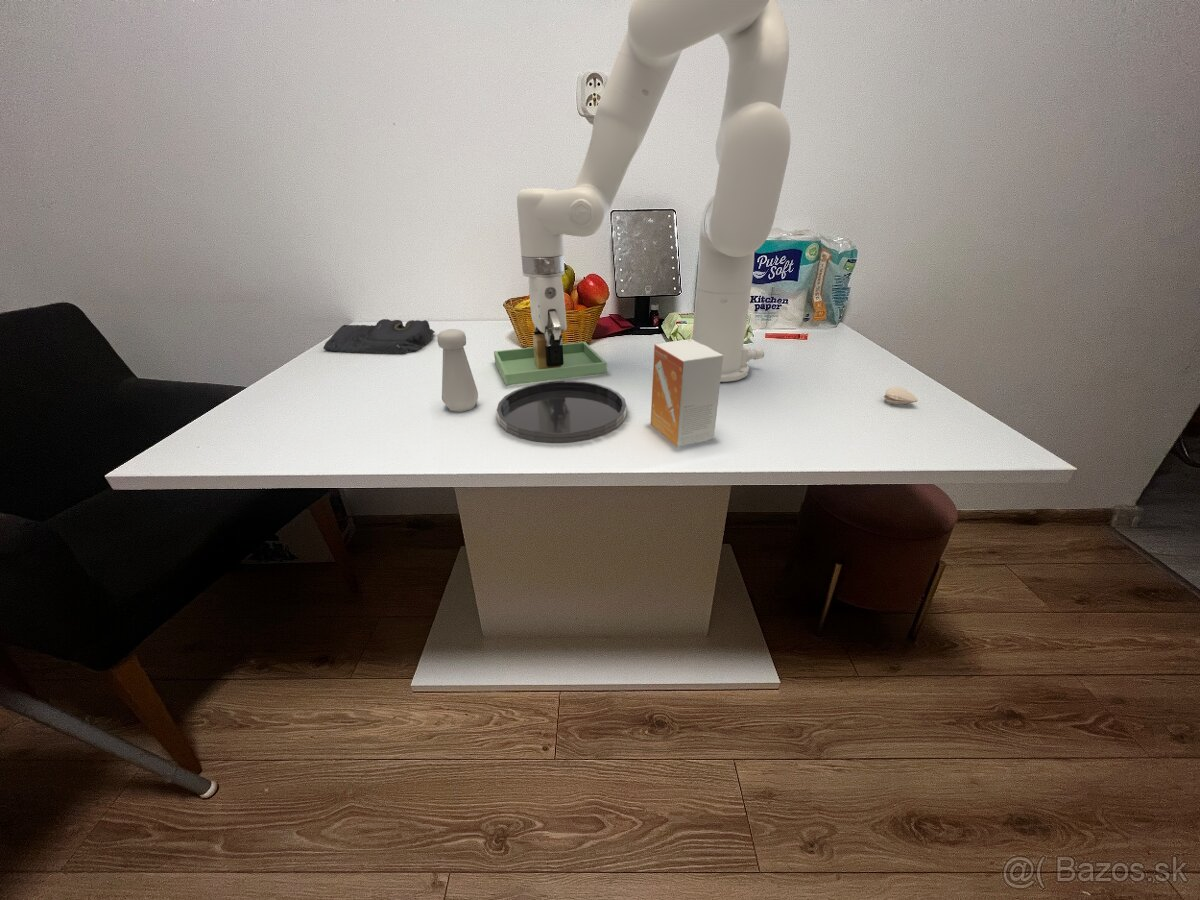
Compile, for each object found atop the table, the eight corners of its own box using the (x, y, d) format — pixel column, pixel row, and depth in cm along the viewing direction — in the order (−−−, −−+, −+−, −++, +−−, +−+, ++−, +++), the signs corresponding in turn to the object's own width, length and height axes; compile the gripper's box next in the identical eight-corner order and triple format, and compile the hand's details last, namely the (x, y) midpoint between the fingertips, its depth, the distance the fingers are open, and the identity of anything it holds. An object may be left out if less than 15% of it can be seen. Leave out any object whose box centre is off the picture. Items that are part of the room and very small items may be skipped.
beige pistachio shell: (888, 396, 87) (892, 382, 86) (920, 404, 84) (924, 390, 83) (878, 403, 85) (882, 389, 83) (911, 412, 82) (915, 397, 80)
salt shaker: (470, 417, 81) (459, 337, 75) (437, 414, 82) (423, 335, 76) (485, 403, 86) (475, 326, 80) (453, 400, 87) (442, 325, 81)
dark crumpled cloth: (354, 332, 124) (349, 313, 122) (441, 334, 122) (438, 314, 120) (317, 352, 111) (311, 330, 109) (414, 354, 109) (409, 332, 107)
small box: (649, 426, 78) (653, 343, 71) (685, 419, 80) (692, 337, 74) (676, 450, 71) (683, 360, 65) (714, 441, 73) (725, 354, 67)
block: (556, 362, 103) (554, 332, 100) (561, 368, 99) (559, 338, 96) (534, 364, 101) (532, 334, 98) (539, 371, 98) (536, 340, 95)
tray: (585, 353, 109) (584, 341, 108) (606, 375, 97) (606, 362, 96) (495, 363, 104) (493, 351, 103) (506, 387, 92) (504, 374, 91)
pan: (602, 385, 93) (602, 375, 92) (645, 433, 76) (645, 421, 75) (490, 400, 87) (489, 389, 86) (510, 455, 70) (508, 442, 69)
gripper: (576, 272, 85) (579, 369, 93) (552, 257, 99) (556, 343, 108) (532, 275, 83) (539, 374, 91) (514, 260, 97) (521, 347, 106)
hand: (549, 357), depth 99 cm, fingers open, 9 cm apart
